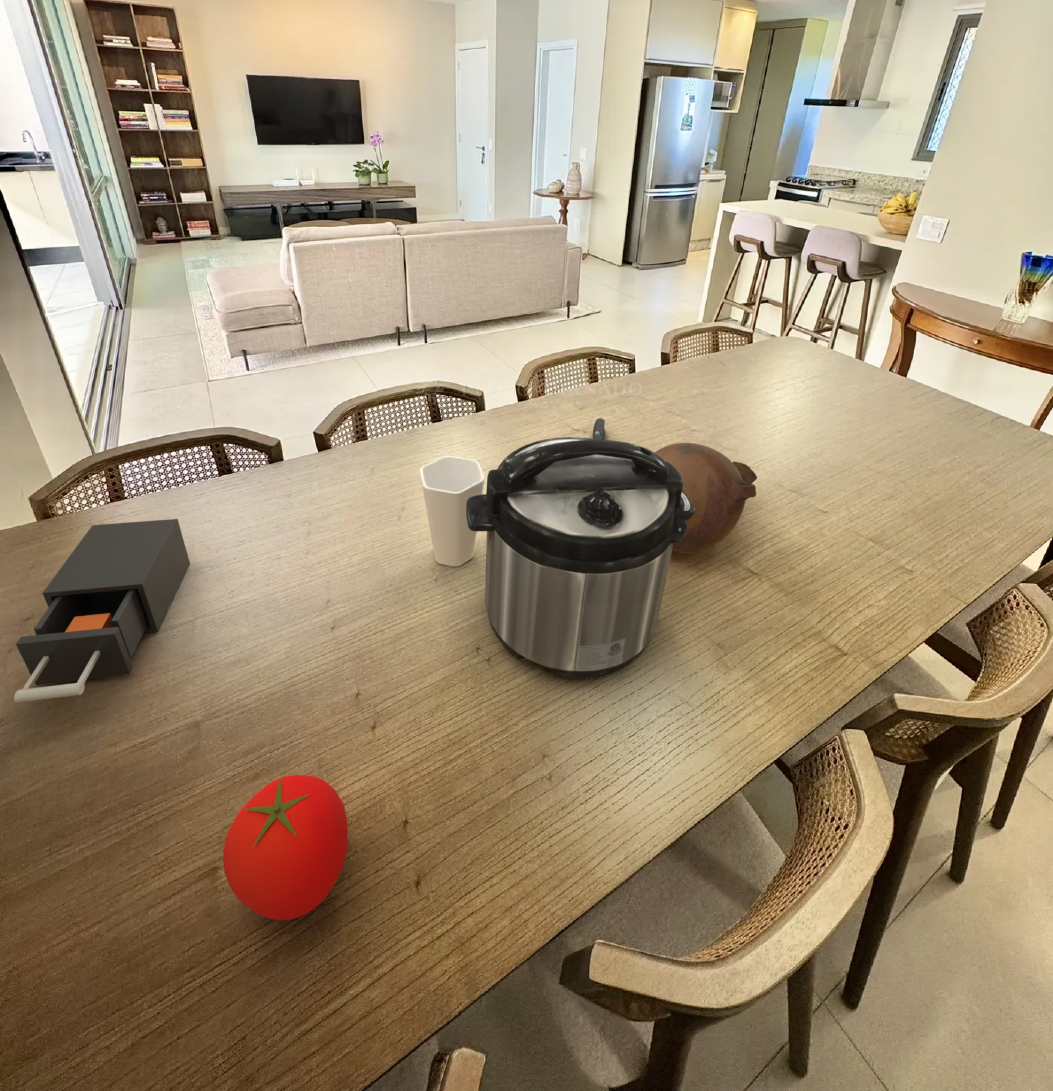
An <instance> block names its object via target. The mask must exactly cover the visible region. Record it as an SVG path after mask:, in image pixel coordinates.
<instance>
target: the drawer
mask: <svg viewBox="0 0 1053 1091" xmlns="http://www.w3.org/2000/svg"><path fill="white" fill-rule="evenodd" d="M107 613H110V614H111V616H112V620H111V622H112V625H113V627H112V628H102V629H92V630H82V631H72V632H65V631H66V630H67V628H68V627H69V625H70V623H71V622H72V620H73V619H74V617H77V616H87V615H97V614H107ZM148 623H149V621H148V618H147V615H146V612H145V609H144V606H143V603H142V600H141V597H140V595H139V592H138V589H128V590H117V591H106V592H95V593H84V594H73V595H62V596H57V597H56V598H55V599H54V601H53V602H52V604H51V605H50V606H49V607H48V608H47V609H46V611H45V612H44V613H43V615H42V616H41V618H40V619H39V620H38V622H37V623H36V625H35V626H34V627H33V631H34V633H35V635H34V634H33V635H25V636H20V638H19V639H18V640H17V642H16V643H15V646H16V648H17V650H18V652H19V654H20V656H21V658H22V660H23V662H24V664H25V666H26V668H27V670H28V672H29V674H30V677H29V678H28V680H27V681H26V683H25V684H24V686H23V687H22V689H18V690H16V691H15V693H14V696H13V701H14V702H15V703H16V704H17V703H24V702H33V701H40V700H41V701H43V700H51V699H57V698H59V699H60V698H68V697H76V696H81V695H83V693H84V691H85V684H86V681H87V680H93V679H101V678H102V679H103V678H111V677H120V676H129V675H131V673H132V671H133V669H134V665H133V662H132V659H131V658H133V655H134V653H135V651H136V649H137V647H138V645H139V644H140V641H141V639H142V637H143V635H144V634H145V633H144V631H145V629H146V627H147V625H148ZM143 633H144V634H143ZM76 681H77V682H76ZM69 682H72V683H69ZM73 682H75V683H73ZM59 683H66V684H59ZM49 684H50V685H49ZM51 684H56V685H51ZM34 685H35V686H40V687H33V686H34ZM41 685H42V686H41ZM43 685H49V686H43Z"/></svg>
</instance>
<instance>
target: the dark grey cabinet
mask: <svg viewBox="0 0 1053 1091" xmlns="http://www.w3.org/2000/svg"><path fill="white" fill-rule="evenodd" d="M190 565H191V561H190V558H189V555H188V551H187V546H186V544H185V541H184V536H183V533H182V529H181V525H180V523H179V519H178V518H171V519H169V518H168V519H158V520H144V521H143V520H141V521H130V522H117V523H115V522H114V523H104V524H102V523H101V524H92V525H91V526H90V527H89V529H88V530H87V532H85V534H84V536H83V537H82V538H81V540H80V542H79V543H78V544H77V545H76V546H75V548H74V549H73V551H72V552H71V553H70V555H69V556H68V558H67V559H66V560H65V561H64V563H63V564H62V566H61V567H60V568H59V570H58V571H57V573H56V574H55V575H54V576H53V578H52V579H51V581H50V582H49V583H48V585H47V586H46V588H45V589H44V590H43V591H42V596H43V598H44V601H45V602H46V605H47V607H48V608H49V606H50V605H51V604H52V602H53V601H54V599H55V598H56V597H57V596H62V595H73V594H84V593H95V592H106V591H117V590H128V589H138V592H139V595H140V597H141V600H142V603H143V606H144V609H145V612H146V615H147V618H148V621H149V623H148V625H147V627H146V629H145V631H144V633H143V635H144V634H153V633H159V631H160V629H161V627H162V624H163V622H164V620H165V618H166V617H167V616H166V615H167V613H168V611H169V609H170V607H171V605H172V603H173V601H174V599H175V596H176V594H177V592H178V591H179V588H180V587H181V584H182V581H183V580H184V578H185V575H186V573H187V572H188V569H189V567H190Z"/></svg>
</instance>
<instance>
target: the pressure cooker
mask: <svg viewBox="0 0 1053 1091" xmlns="http://www.w3.org/2000/svg"><path fill="white" fill-rule="evenodd" d="M654 452H655V451H653V450H651V449H649V448H647V447H644V446H641V445H637V444H635V443H631V442H627V441H619V440H612V439H605V440H597V439H593V438H588V437H579V436H578V437H575V436H574V437H573V436H564V437H552V438H545V439H541V440H536V441H533V442H531V443H528V444H524V445H522V446H520V447H518V448H517V449H515V450H513V451H512V452H510V453H509V454H508V455H507V456H506V457H504V459H503V460H502V461H501V463H500V464H499V465H498V466H497V468H495V469H490V470H489V471H488V473H487V476H486V492H485V493H483V494H482V495H476V496H472V497H470V498H468V500H467V503H466V517H467V523H468V527H469V529H470V530H471V531H477V532H486V546H485V547H486V548H485V550H486V551H485V577H484V578H485V582H484V604H485V610H486V615H487V618H488V620H489V625H490V627H491V629H492V631H493V633H494V635H495V637H496V638H497V639H498V640H499V642H500V643H501V644H502V645H503V647H504V648H505V649H506V650H507V651H508V652H509V653H510V655H512V656H513V657H514V658H516V659H517V660H521V661H522V660H528V662H529V663H530V664H532V665H533V666H534V665H535V666H536V667H539V668H540V670H542V671H544V672H546V673H549V674H550V675H552V677H555V678H560V679H565V680H574V681H581V680H582V681H585V680H594V679H595V680H596V679H599V678H604V677H607V676H610V675H613V674H615V673H618V672H619V671H621V670H623V669H625V668H626V667H628V666H630V665H631V664H632V663H633V662H634V661H635V660H637V659H638V658H639V657H640V656H641V655H642V653H644V651H645V650H646V649H647V647H648V646H649V645H650V642H651V641H652V640H653V636H654V633H655V631H656V629H657V625H658V621H659V620H658V619H659V614H660V610H661V605H662V600H663V596H664V591H665V586H666V582H667V577H668V572H669V566H670V561H671V556H672V552H673V550H672V548H673V543H676V542H681V541H682V540H683V539H684V537H685V534H686V530H687V524H686V522H685V521H686V520H688V519H690V518H691V517H692V516H693V515H694V514H695V508H694V506H693V504H692V502H691V500H690V499H689V497H688V496H687V495H686V494H685V492H684V491H683V490H682V488H683V481H682V477H681V475H680V473H679V472H678V471H677V470H676V469H675V467H674V466H672V465H671V464H670V463H669V462H665V461H664V460H663V459H662V458H661V457H660V456H659V455H657V454H656V453H654Z"/></svg>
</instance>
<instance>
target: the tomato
mask: <svg viewBox="0 0 1053 1091" xmlns="http://www.w3.org/2000/svg"><path fill="white" fill-rule="evenodd" d="M348 847H349V826H348V818H347V812H346V808H345V804H344V802H343V800H342V799H341V796H340V795H339V794H338V792H337V791H336V789H335V788H334V787H333V786H332V785H330V783H329V782H327V781H326V780H324V779H323V778H320V777H318V776H314V775H308V774H291V775H285V776H282V777H281V776H280V777H278V778H276V779H274V780H272V781H271V782H269V783H267V784H266V785H264V787H262V788H261V789H259V790H258V791H257V792H256V793H255V794H254V795H253V796H252V797H251V798H250V799H249V800H248V801H247V802H246V803H245V804H244V805H243V806H242V808H241V809H240V810H239V811H238V813H237V815H236V816H235V817H234V819H233V821H232V823H231V825H230V827H229V829H228V832H227V834H226V836H225V839H224V843H223V850H222V865H223V873H224V875H225V877H226V880H227V883H228V885H229V887H230V889H231V891H232V893H233V894H234V896H236V898H237V899H238V900H239V901H240V902H241V903H242V904H243V905H245V906H246V908H248V909H250V910H251V911H252V912H254V913H256V914H258V915H259V916H261V917H264V918H266V919H270V920H273V921H290V920H294V919H298V918H300V917H303V916H305V915H307V914H309V913H310V912H312V911H313V910H315V909H316V908H317V907H319V906H320V905H321V904H322V903H323V901H325V899H326V898H327V897H328V896H329V894H330V893H331V891H332V890H333V888H334V886H335V885H336V883H337V881H338V879H339V878H340V875H341V873H342V870H343V867H344V865H345V861H346V856H347V852H348Z"/></svg>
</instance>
